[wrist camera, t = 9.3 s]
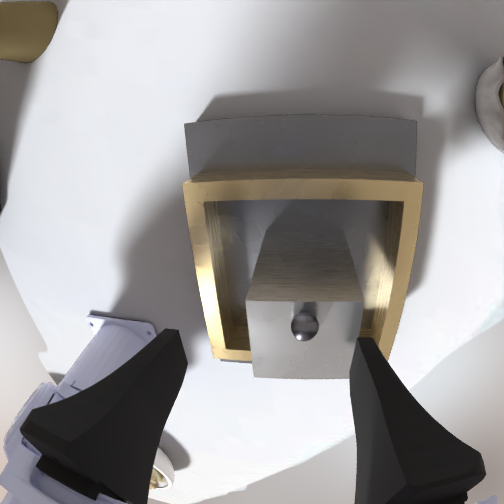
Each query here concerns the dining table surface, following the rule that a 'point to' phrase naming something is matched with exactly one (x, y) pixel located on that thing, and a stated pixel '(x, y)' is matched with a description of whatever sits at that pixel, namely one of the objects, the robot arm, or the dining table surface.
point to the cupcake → (492, 102)
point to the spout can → (304, 306)
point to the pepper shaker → (26, 29)
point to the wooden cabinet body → (301, 209)
